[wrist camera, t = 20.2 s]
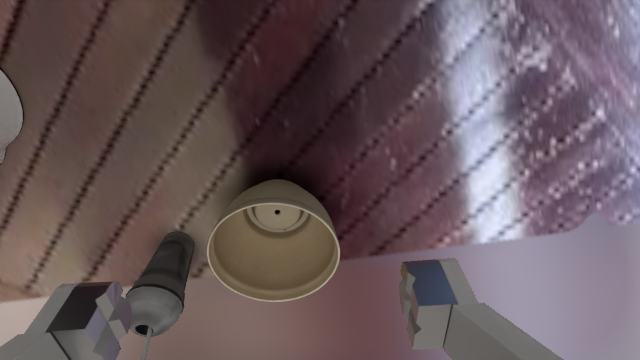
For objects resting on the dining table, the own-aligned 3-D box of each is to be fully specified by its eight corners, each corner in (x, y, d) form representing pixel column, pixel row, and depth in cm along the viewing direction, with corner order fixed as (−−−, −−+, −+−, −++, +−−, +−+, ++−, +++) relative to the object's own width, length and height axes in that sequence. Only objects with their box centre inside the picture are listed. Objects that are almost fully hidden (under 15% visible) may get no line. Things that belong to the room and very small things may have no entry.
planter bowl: (356, 202, 56) (367, 254, 46) (282, 261, 61) (279, 318, 52) (273, 134, 49) (267, 178, 40) (199, 207, 55) (179, 260, 46)
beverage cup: (162, 217, 56) (102, 339, 39) (210, 235, 58) (172, 357, 41) (148, 250, 59) (87, 375, 42) (194, 266, 61) (153, 390, 44)
